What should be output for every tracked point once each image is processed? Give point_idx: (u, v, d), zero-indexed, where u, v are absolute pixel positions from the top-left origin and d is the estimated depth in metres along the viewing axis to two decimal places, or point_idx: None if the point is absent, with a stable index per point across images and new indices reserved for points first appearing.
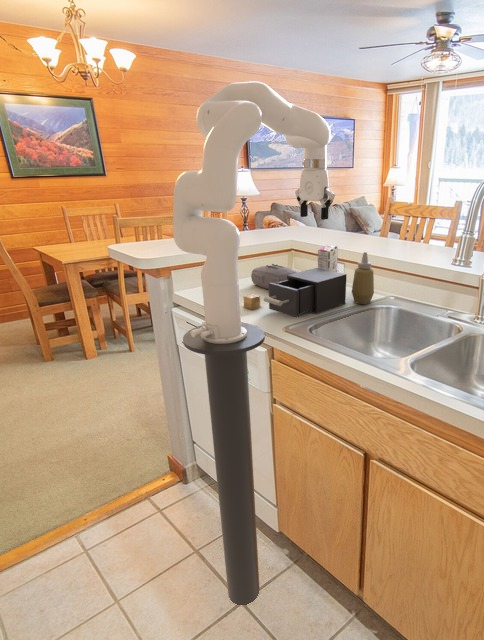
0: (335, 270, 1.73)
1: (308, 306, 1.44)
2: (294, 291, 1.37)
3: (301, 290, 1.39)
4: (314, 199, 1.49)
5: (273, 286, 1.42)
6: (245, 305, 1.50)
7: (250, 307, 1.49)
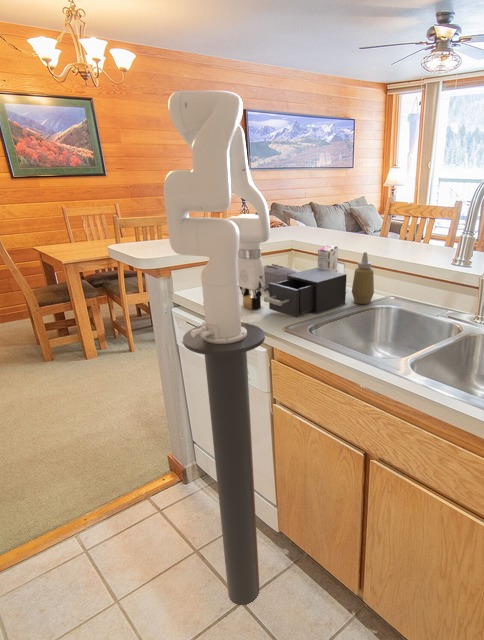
0: (335, 270, 1.73)
1: (308, 306, 1.44)
2: (294, 291, 1.37)
3: (301, 290, 1.39)
4: (249, 288, 1.45)
5: (273, 286, 1.42)
6: (245, 305, 1.50)
7: (250, 307, 1.49)
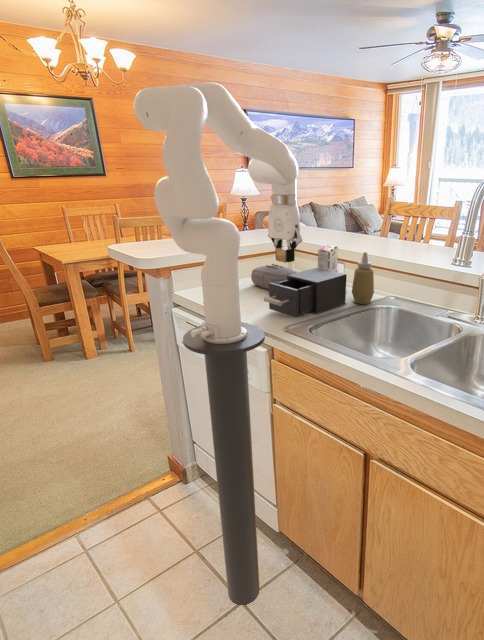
0: (335, 270, 1.73)
1: (308, 306, 1.44)
2: (294, 291, 1.37)
3: (301, 290, 1.39)
4: (284, 238, 1.35)
5: (273, 286, 1.42)
6: (278, 258, 1.40)
7: (284, 260, 1.39)
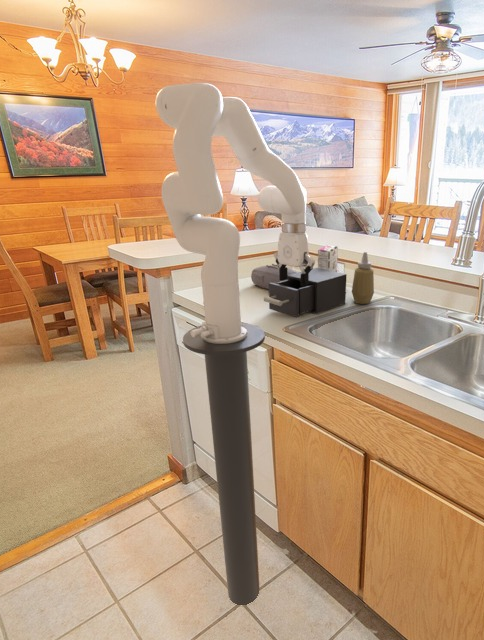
0: (335, 270, 1.73)
1: (308, 306, 1.44)
2: (294, 291, 1.37)
3: (301, 290, 1.39)
4: (293, 265, 1.37)
5: (273, 286, 1.42)
6: None
7: None
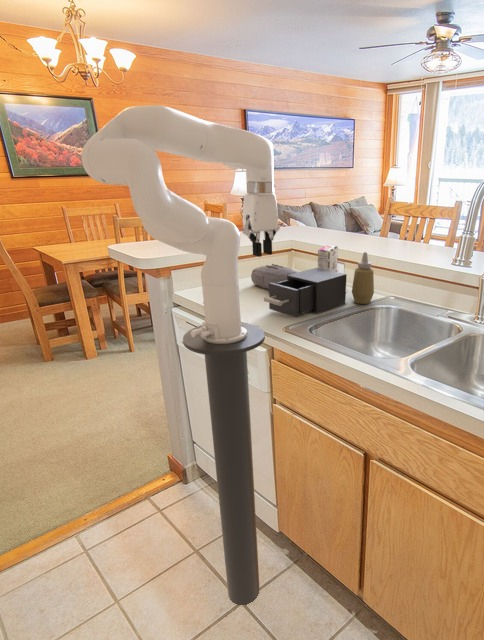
0: (335, 270, 1.73)
1: (308, 306, 1.44)
2: (294, 291, 1.37)
3: (301, 290, 1.39)
4: None
5: (273, 286, 1.42)
6: None
7: None
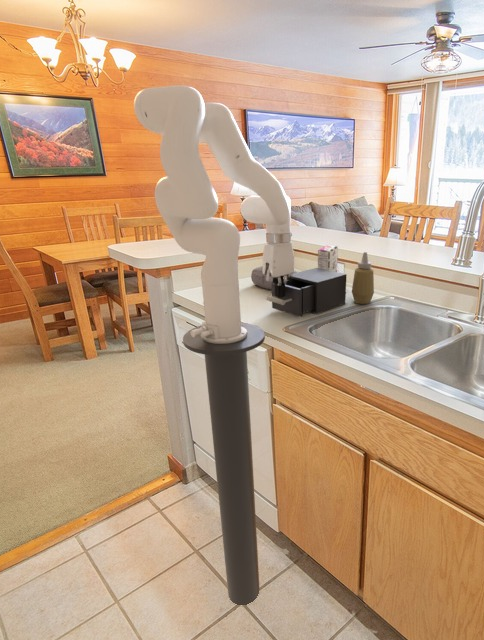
0: (335, 270, 1.73)
1: (311, 305, 1.45)
2: (297, 290, 1.38)
3: (304, 289, 1.40)
4: None
5: None
6: None
7: None
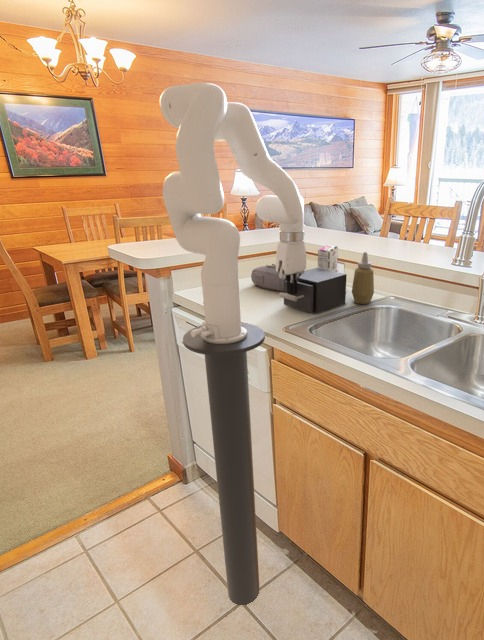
0: (335, 270, 1.73)
1: None
2: (309, 287, 1.42)
3: None
4: None
5: None
6: None
7: None
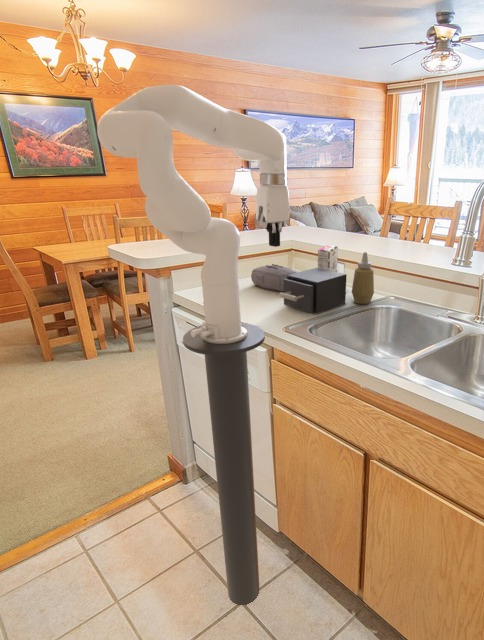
0: (335, 270, 1.73)
1: None
2: (309, 287, 1.42)
3: None
4: None
5: (288, 282, 1.47)
6: None
7: None
